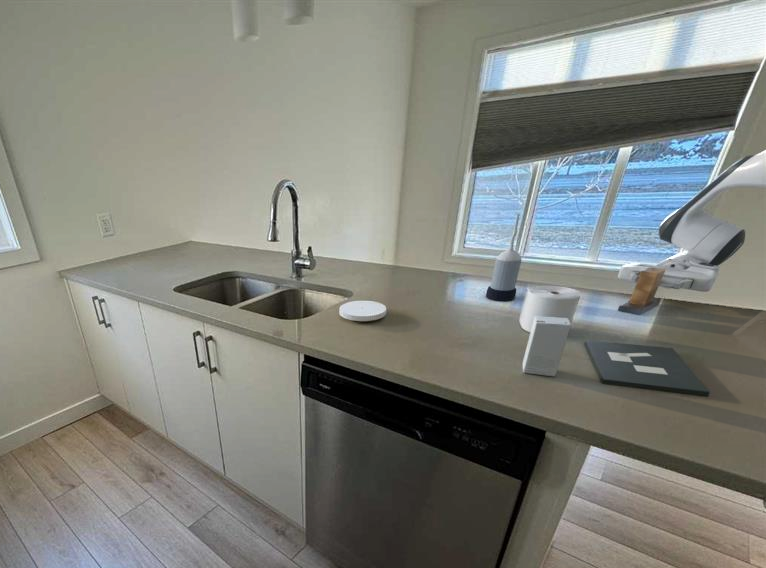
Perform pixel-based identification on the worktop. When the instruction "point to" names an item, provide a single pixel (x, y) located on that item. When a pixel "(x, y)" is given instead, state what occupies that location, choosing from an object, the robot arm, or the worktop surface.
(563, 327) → the cosmetic box
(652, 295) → the eraser
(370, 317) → the plastic lid
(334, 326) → the worktop surface
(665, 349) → the slate board
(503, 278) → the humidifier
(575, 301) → the toilet tissue
